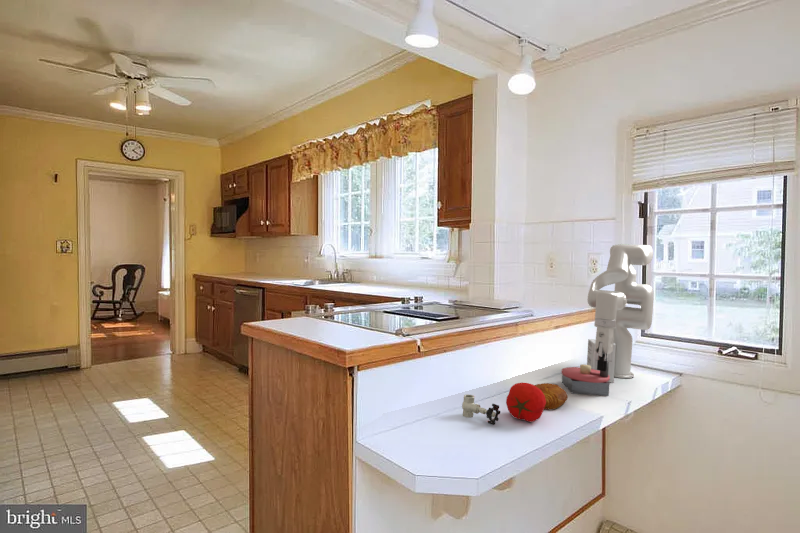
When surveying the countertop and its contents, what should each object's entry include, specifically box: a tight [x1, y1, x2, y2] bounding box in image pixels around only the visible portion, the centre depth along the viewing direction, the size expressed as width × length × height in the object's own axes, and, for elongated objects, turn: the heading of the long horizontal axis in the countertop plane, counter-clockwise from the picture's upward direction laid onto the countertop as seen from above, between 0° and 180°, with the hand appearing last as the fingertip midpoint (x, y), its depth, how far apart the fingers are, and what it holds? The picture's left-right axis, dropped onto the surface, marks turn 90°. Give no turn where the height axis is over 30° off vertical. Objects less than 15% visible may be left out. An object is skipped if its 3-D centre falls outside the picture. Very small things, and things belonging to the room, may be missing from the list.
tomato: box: [505, 382, 546, 423], centre depth 147 cm, size 13×13×13 cm
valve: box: [461, 394, 501, 426], centre depth 145 cm, size 7×7×12 cm
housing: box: [561, 374, 610, 397], centre depth 182 cm, size 14×14×5 cm
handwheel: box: [561, 361, 610, 383], centre depth 182 cm, size 18×18×7 cm
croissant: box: [534, 382, 568, 410], centre depth 164 cm, size 14×16×8 cm
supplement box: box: [586, 338, 616, 384], centre depth 198 cm, size 10×9×17 cm
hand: (601, 370), depth 175 cm, fingers closed
